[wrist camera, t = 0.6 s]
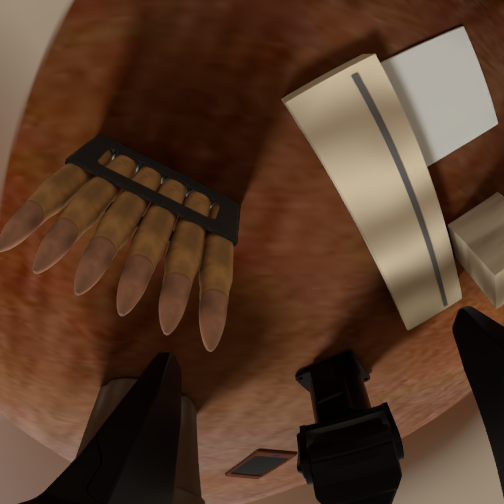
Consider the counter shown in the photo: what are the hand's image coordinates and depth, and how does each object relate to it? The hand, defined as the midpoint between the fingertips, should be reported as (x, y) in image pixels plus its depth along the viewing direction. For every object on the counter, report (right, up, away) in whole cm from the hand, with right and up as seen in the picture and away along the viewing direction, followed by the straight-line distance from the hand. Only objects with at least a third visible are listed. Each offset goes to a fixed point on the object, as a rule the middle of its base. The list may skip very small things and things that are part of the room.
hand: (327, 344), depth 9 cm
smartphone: (-1, -34, +39) cm, 52 cm away
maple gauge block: (+17, +5, +14) cm, 23 cm away
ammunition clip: (-8, +7, +12) cm, 16 cm away
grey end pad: (+11, +13, +8) cm, 19 cm away
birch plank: (+8, +6, +13) cm, 16 cm away
